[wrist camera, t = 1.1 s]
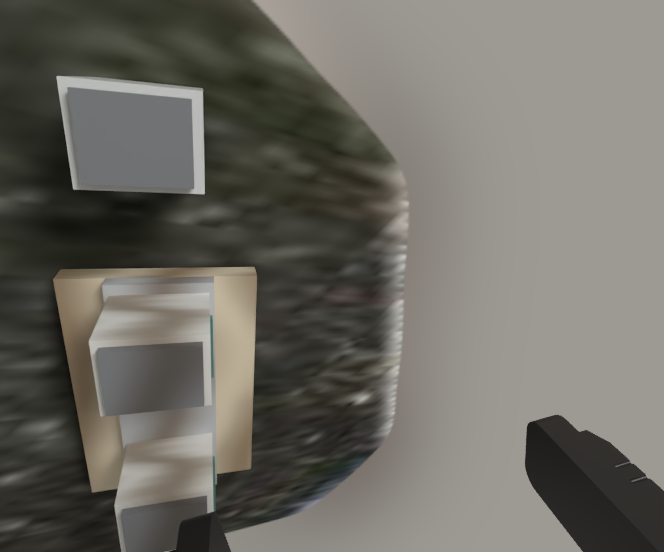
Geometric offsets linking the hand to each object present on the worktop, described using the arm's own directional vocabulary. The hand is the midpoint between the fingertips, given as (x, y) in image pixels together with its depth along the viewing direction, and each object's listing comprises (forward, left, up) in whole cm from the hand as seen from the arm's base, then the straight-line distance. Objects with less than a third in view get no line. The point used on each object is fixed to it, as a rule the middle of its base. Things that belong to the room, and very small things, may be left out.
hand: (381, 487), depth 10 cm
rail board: (-7, -12, -21) cm, 25 cm away
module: (-7, +6, -21) cm, 23 cm away
